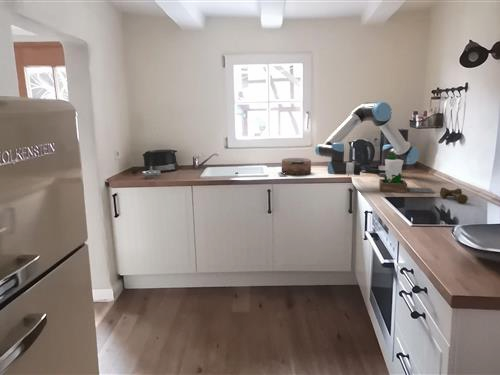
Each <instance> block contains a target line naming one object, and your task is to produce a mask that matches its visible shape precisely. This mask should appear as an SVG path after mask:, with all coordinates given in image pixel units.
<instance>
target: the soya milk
mask: <svg viewBox="0 0 500 375" xmlns="http://www.w3.org/2000/svg"><path fill="white" fill-rule="evenodd" d="M403 162H404V160H399V159H396V156H389V158H388V159H385V169H392V172H391V174H385V177H384V179H385V182H384V183H401V180H402V172H403V165H404V163H403Z"/></svg>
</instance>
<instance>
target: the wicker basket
mask: <svg viewBox="0 0 500 375" xmlns="http://www.w3.org/2000/svg"><path fill="white" fill-rule="evenodd" d="M282 172H283V173H285V174H286V175H285V174H284V175H285V176H307V174H308V175H310V174H311V173H312V159H311V158H307V157H306V158H305V157H286V158H282V159H281V173H282Z"/></svg>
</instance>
